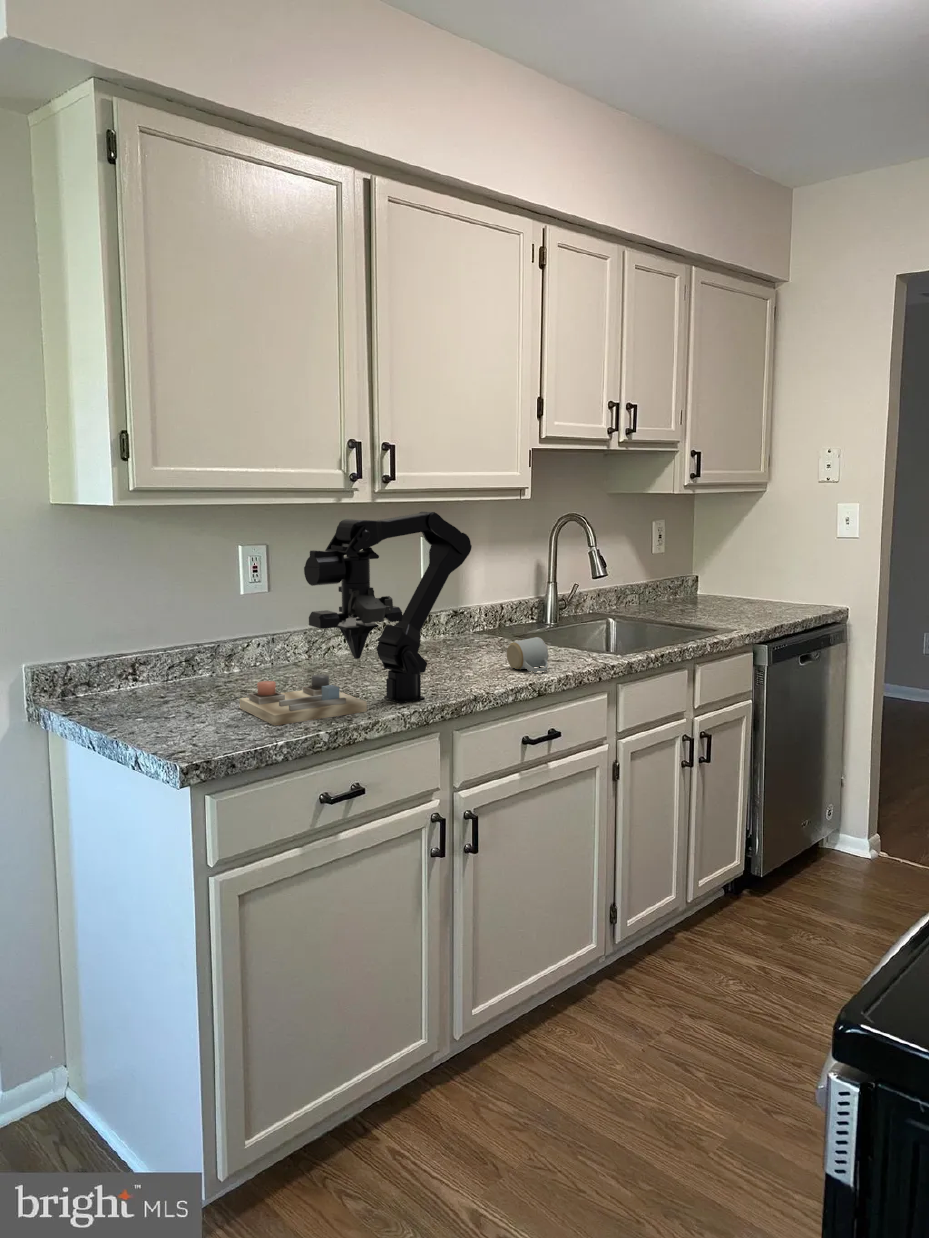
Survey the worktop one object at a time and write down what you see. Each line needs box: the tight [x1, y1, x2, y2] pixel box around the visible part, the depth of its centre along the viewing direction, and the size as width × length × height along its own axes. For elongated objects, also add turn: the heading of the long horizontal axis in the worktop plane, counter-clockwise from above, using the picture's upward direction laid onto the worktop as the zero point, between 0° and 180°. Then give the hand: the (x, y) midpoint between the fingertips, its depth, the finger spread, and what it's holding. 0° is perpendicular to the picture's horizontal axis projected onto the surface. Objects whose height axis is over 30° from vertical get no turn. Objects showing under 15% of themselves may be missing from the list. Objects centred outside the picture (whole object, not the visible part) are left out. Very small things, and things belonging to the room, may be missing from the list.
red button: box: [256, 680, 277, 695], centre depth 195 cm, size 4×4×2 cm
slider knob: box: [322, 684, 340, 700], centre depth 193 cm, size 2×3×3 cm
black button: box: [310, 673, 330, 688], centre depth 201 cm, size 4×4×2 cm
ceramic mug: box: [506, 636, 549, 672], centre depth 237 cm, size 11×8×8 cm
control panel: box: [239, 685, 368, 726], centre depth 195 cm, size 20×17×3 cm
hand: (357, 658), depth 196 cm, fingers closed
